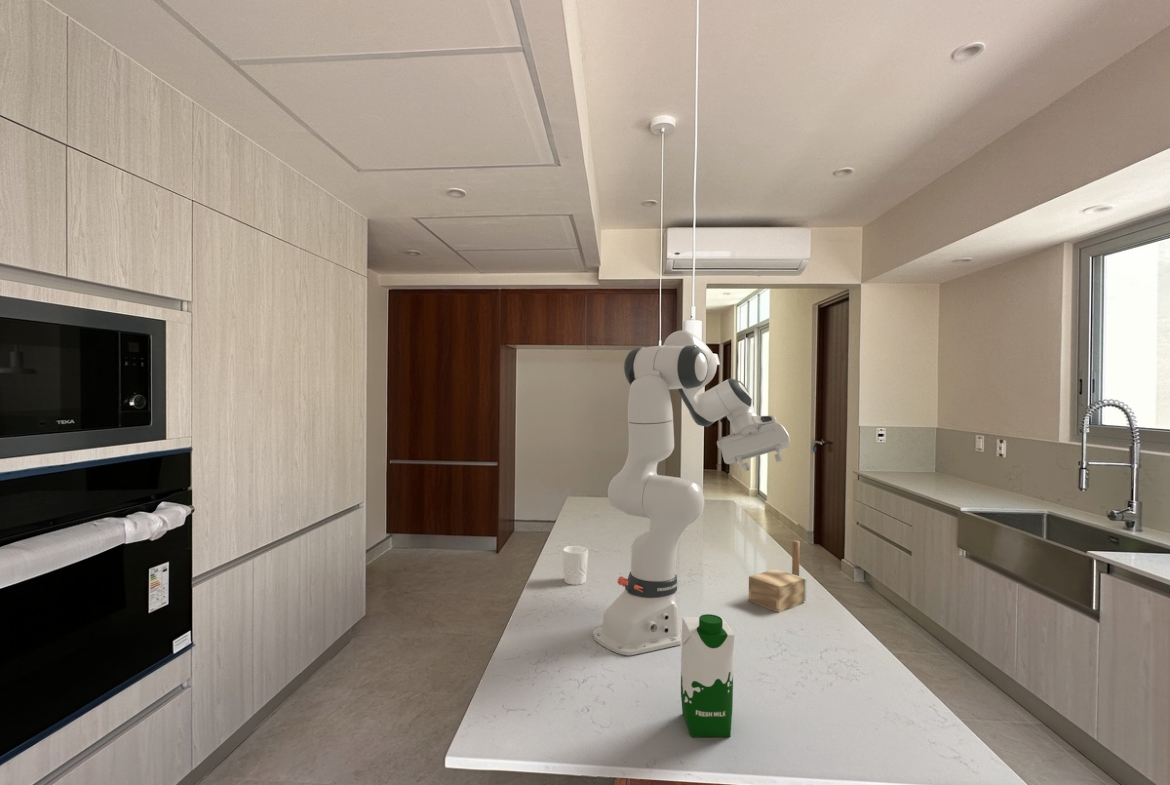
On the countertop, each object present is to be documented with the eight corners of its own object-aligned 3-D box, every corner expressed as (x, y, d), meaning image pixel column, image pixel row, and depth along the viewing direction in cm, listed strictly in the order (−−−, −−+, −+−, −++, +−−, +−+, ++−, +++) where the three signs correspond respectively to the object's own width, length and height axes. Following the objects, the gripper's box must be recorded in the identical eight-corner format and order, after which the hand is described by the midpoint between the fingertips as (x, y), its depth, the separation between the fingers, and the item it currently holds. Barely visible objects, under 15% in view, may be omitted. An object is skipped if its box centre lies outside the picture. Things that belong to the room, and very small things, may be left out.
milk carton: (686, 740, 95) (688, 624, 95) (676, 710, 104) (678, 603, 104) (737, 740, 95) (739, 624, 95) (722, 710, 104) (724, 604, 104)
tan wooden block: (778, 612, 151) (779, 586, 151) (748, 600, 159) (748, 576, 159) (803, 603, 159) (804, 578, 159) (773, 592, 167) (773, 569, 167)
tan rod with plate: (781, 610, 152) (782, 553, 152) (751, 598, 160) (752, 544, 160) (812, 598, 161) (813, 544, 161) (782, 588, 169) (783, 537, 169)
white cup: (588, 577, 177) (589, 546, 177) (586, 586, 169) (587, 553, 169) (564, 576, 178) (564, 545, 178) (560, 585, 170) (561, 552, 170)
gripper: (713, 433, 171) (726, 469, 161) (779, 414, 168) (797, 449, 158) (716, 445, 175) (729, 480, 165) (781, 426, 172) (798, 461, 162)
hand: (763, 465), depth 161 cm, fingers open, 8 cm apart
